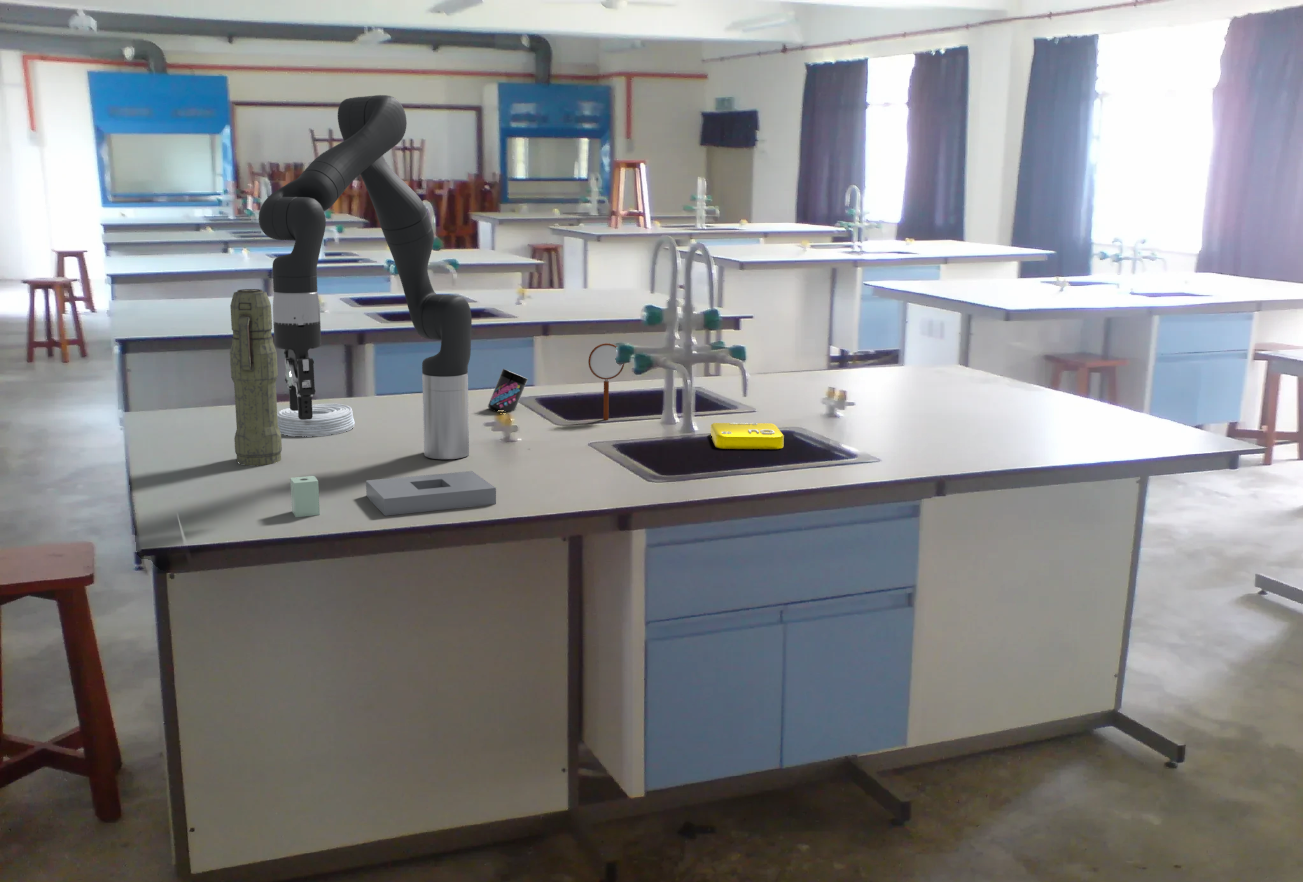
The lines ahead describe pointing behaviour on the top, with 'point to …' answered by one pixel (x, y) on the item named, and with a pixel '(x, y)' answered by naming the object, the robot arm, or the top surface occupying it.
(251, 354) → the thermos
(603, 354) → the magnifying glass
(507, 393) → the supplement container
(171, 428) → the top surface
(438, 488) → the socket box
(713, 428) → the element tile
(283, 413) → the cable
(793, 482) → the top surface
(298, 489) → the block
